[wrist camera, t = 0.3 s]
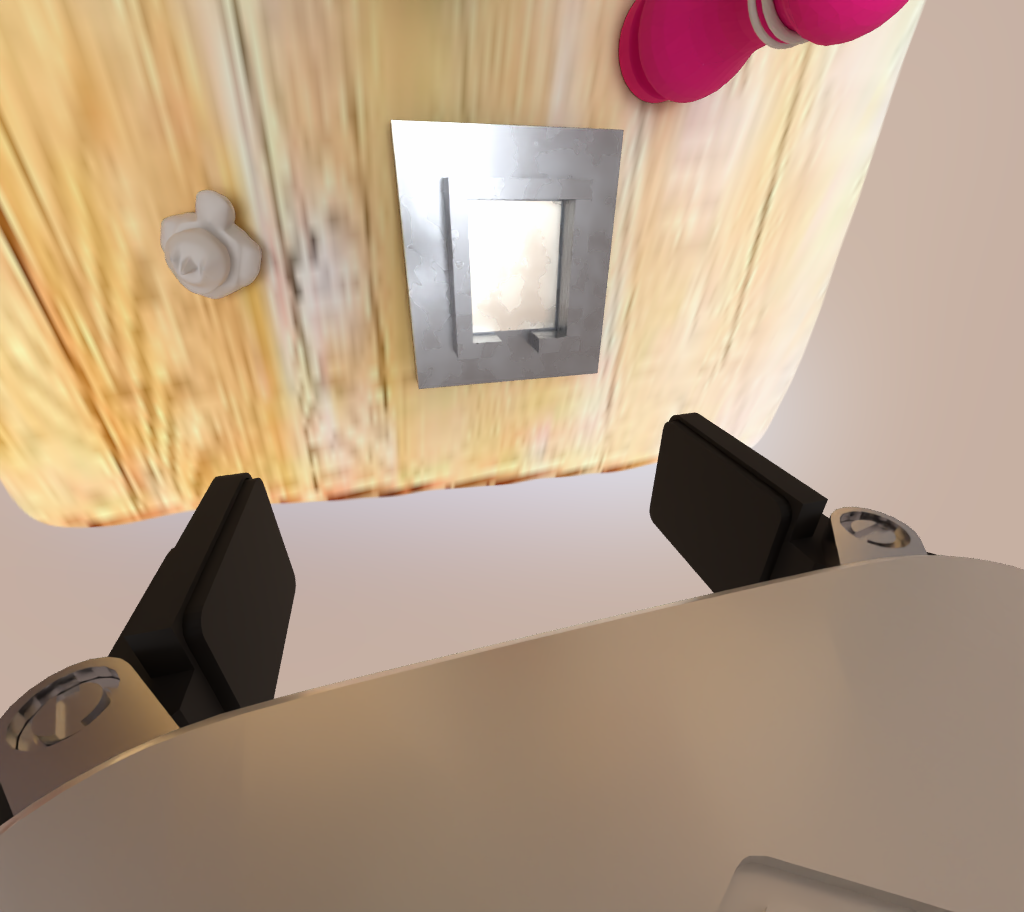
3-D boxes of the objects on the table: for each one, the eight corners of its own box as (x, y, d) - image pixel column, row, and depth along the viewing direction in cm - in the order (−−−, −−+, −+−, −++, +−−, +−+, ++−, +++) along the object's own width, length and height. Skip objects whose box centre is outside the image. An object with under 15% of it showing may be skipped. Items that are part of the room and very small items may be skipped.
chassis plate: (390, 123, 30) (392, 114, 26) (611, 132, 34) (641, 125, 30) (417, 380, 39) (421, 400, 35) (588, 365, 43) (609, 382, 39)
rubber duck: (172, 277, 31) (118, 300, 25) (179, 172, 29) (120, 167, 22) (260, 303, 33) (232, 331, 27) (274, 208, 31) (247, 212, 24)
